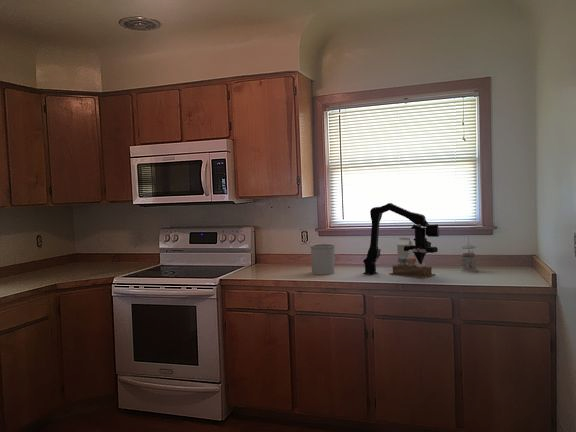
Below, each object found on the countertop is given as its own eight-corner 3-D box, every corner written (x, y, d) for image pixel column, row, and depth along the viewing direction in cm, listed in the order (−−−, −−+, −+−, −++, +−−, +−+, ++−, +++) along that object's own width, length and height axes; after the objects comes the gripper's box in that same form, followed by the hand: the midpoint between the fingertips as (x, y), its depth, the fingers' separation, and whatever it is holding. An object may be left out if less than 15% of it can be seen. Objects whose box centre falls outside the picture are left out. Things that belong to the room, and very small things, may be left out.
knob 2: (422, 274, 271) (422, 265, 270) (414, 273, 274) (414, 264, 274) (427, 273, 274) (427, 263, 274) (419, 272, 278) (419, 263, 278)
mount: (424, 278, 266) (423, 269, 266) (389, 274, 283) (388, 266, 283) (435, 275, 275) (435, 266, 274) (400, 271, 291) (400, 263, 291)
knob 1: (404, 268, 279) (403, 258, 279) (396, 267, 283) (396, 258, 283) (409, 266, 283) (408, 257, 283) (401, 265, 287) (401, 257, 286)
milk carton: (408, 269, 298) (407, 238, 297) (397, 268, 302) (396, 238, 301) (413, 267, 303) (412, 237, 302) (402, 266, 308) (401, 237, 307)
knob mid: (413, 268, 275) (412, 259, 275) (405, 268, 279) (405, 259, 278) (418, 267, 278) (417, 258, 278) (410, 266, 282) (410, 257, 282)
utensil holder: (340, 272, 297) (339, 243, 296) (325, 276, 286) (324, 246, 285) (321, 270, 307) (320, 242, 306) (306, 273, 296) (305, 245, 295)
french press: (475, 268, 290) (474, 227, 289) (481, 272, 279) (480, 228, 277) (458, 269, 291) (457, 227, 290) (463, 272, 280) (462, 229, 278)
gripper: (442, 236, 272) (443, 263, 273) (413, 234, 286) (414, 260, 286) (432, 237, 264) (432, 266, 265) (402, 236, 278) (403, 263, 279)
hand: (420, 264), depth 274 cm, fingers closed, pressing on knob 2
